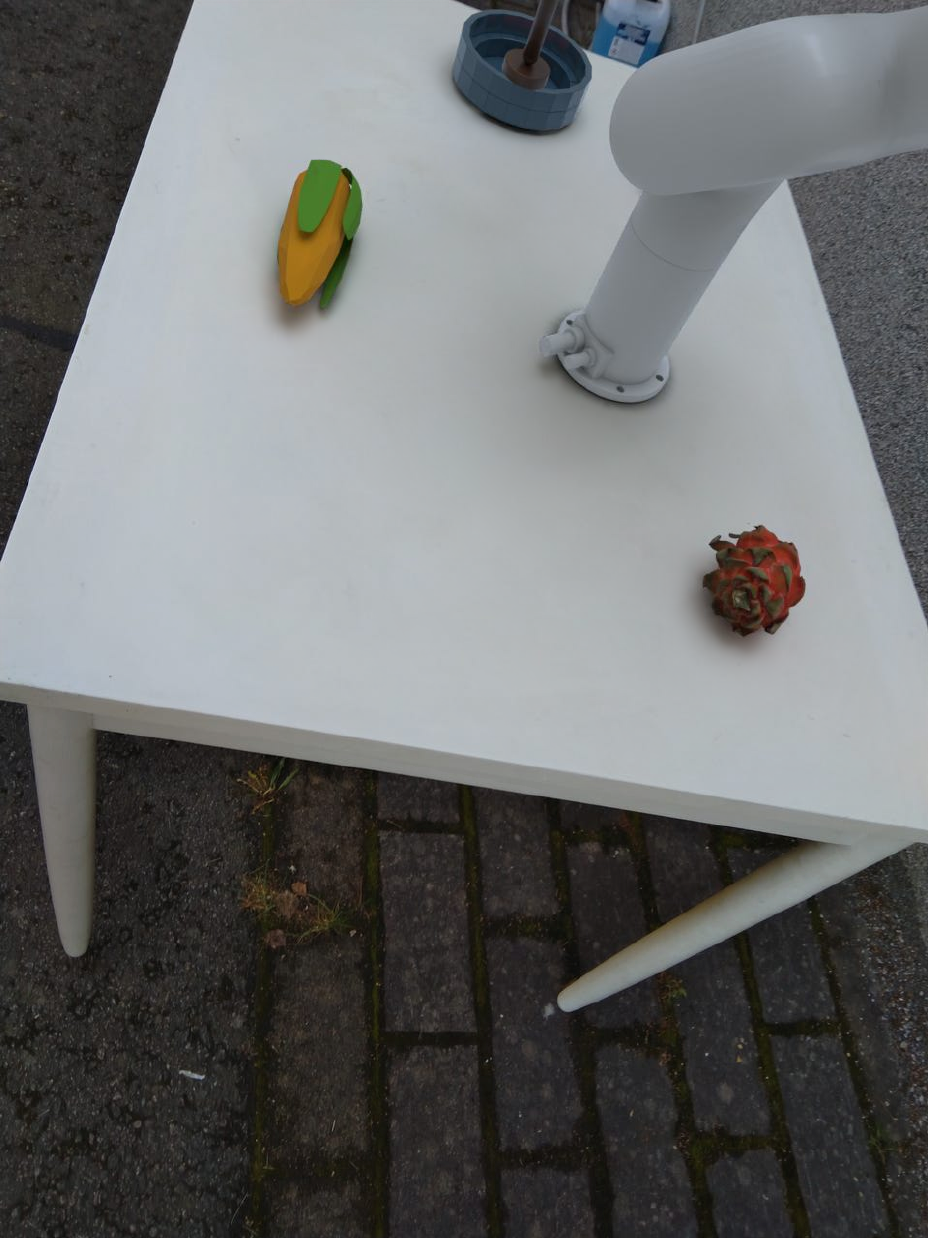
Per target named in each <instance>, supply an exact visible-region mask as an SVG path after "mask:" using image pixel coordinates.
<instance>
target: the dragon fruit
mask: <svg viewBox="0 0 928 1238" xmlns="http://www.w3.org/2000/svg"><path fill="white" fill-rule="evenodd" d="M747 524H748V525H750V523H747ZM752 524H753V523H752ZM753 528H755V529H753V530H750V531H749V530H744V531H742V532H741V533H740V534H739V533H732V532H729V533H728V534H727V536H728V538H730V539H737V540H736V543H735V544H734V543H733V542H730V541H729V540H721V539H722V535H721V534H718V535H716V536H715V537H714V538H712V539H711V541H710V542H709V543H708V546H709V547H710V548H711V549H712V550H713V551H716V553H715V560H716V562H717V565H718V568H717V569H714V570H711V571H710V572H709V573H706V574H704V575H703V577H702V581H701V582H702V584H701V585H702V588H703V589H704V588H706V589H707V590H709V591H710V592H711V593H712V594H713V597H712V600H711V605H710V606H711V610H712V612H713V614H714V615H715V616H718V617H721V618H722V619H726V620H728V621H730V623H731V629H732V632H734V633H736V634H737V635H739V636H741V637H743V638H745V637H748V636H749V635H751V634H754V633H756V632H757V631H758V630H759V629H760V628H761V627H762V628H763V631H764V632H765V633H767V634H769V635H771V636H773V635H775V634H776V633H777V631H778V630H779V629H780V628H781V627H782V625H783V624H784V623H785V622H786V620H787V619H788V617H789V616H790V609H791V608H794V607H795V606H797V605H798V604H799V603H800V602H801V601H802V599H803V598H804V597H805V594H806V593H805V592H806V584H807V583H806V579H805V578H804V576H803V575H801V572H802V566H801V562H800V556H799V552H798V548H797V547H796V545H795V543H794V542H792V541H790V542H788V541H783V540H780V539H779V538H778V536H777V534H776V533H775V532H772V531H771V530H769V529H768V528H766V526H764V525H763V524H757V525H753Z"/></svg>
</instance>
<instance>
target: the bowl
mask: <svg viewBox="0 0 928 1238" xmlns="http://www.w3.org/2000/svg"><path fill="white" fill-rule="evenodd" d="M534 18H535V16H532V15H529V14H525V13H524V12H519V11H514V10H508V9H484V10H481V11H478V12H474V13H472V14H471V15H469V17H467V18H466V20H465V21H463V24H462V28H461V31H460V35H459V39H458V43H457V48H456V51H455V54H454V59H453V64H452V69H451V72H452V75H453V78H454V81H455V84H456V86H457V87H458V89H459V90H460V91H461V92H462V94H463V95H464V96H465V98H466V99H468V100H469V101H470V102H472V104H473V105H474V106H475V107H477V108H478V109H479V110H480V111H482V112H483V113H485V114H486V115H488V116H490V117H491V118H493V119H495V120H496V121H499V122H501V123H504V124H506V125H509V126H511V127H515V128H519V129H523V130H531V131H550V130H560V129H562V128H565V127H566V126H568V125H570V124H572V123H573V122H574V120H575V119H576V117H577V116H578V114H579V112H580V109H581V107H582V105H583V102H584V100H585V96H586V94H587V93H588V92H587V91H588V90H589V87H590V84H591V82H592V79H593V66H592V63H591V62H590V59H589V57H588V55H587V53H586V52H585V51H584V50H583V48H581V46H580V45H579V44H578V42H577V41H575V40H574V39H572V38H571V37H570V36H569V35H567V34H566V33H564V32H563V31H562V30H561V29H559V28H558V27H556V26H553V25H552V24H550V26H549V29H548V32H547V35H546V38H545V40H544V43H543V46H542V49H541V52H540V55H539V56H540V57H541V58H542V59H543V60H545V62H546V63H547V64H548V66H549V68H550V75H549V78H548V80H547V83H546V85H545V87H543V88H542V89H539V90H529V89H525V88H522V87H519V86H517V85H515V84H514V83H512V82H511V81H510V80H508V79H507V78H506V76H505V75H504V73H503V71H502V64H503V61H504V58H505V55H506V53H507V52H508V51H509V50H512V49H525V45H526V42H527V39H528V36H529V33H530V30H531V27H532V24H533V21H534Z"/></svg>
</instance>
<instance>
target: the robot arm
mask: <svg viewBox="0 0 928 1238" xmlns="http://www.w3.org/2000/svg"><path fill="white" fill-rule="evenodd" d="M608 137H609V139H608V140H609V141H608V142H609V147H610V151H611V155H612V157H613V160H614V163H615V165H616V166H617V168H618V170H619V171H620V173H621V174H622V176H623V177H624V178H625V180H627V181H628V182H629V183H630V184H631V185H632V186H634V187H635V188H637V189H638V190H639V191H642V193H641V194H640V196H639V198H638V200H637V202H636V204H635V207H634V208H633V210H632V211H631V213H630V215H629V218H628V219H627V222H626V224H625V226H624V228H623V230H622V232H621V234H620V236H619V238H618V240H617V243H616V244H615V246H614V248H613V251H612V252H611V254H610V257H609V259H608V260H607V263H606V265H605V267H604V269H603V271H602V273H601V275H600V277H599V279H598V281H597V283H596V284H595V287H594V289H593V291H592V293H591V295H590V297H589V299H588V301H587V304H586V305H585V307H584V308H581V309H577V310H575V311H573V312H571V313H569V314H568V315H567V316H566V317H565V318H563V320H562V321H561V323H560V325H559V327H558V329H557V332H556V333H555V334H550V335H546V336H542V337H541V338H540V339H539V343H538V348H539V353H540V354H541V355H542V356H543V357H551V356H556V355H557V358H558V359H559V361H560V363H561V365H562V367H563V368H564V369H565V371H566V372H567V373H568V374H569V375H570V377H571V378H572V379H573V380H574V381H576V382H577V383H578V384H579V385H581V386H582V387H584V388H585V390H588V391H589V392H591V393H593V394H595V395H596V396H599V397H602V398H604V399H607V400H610V401H615V402H620V403H630V404H631V403H640V402H644V401H648V400H650V399H651V398H653V397H655V396H657V395H658V394H659V393H660V392H661V391H662V389H663V388H664V386H665V385H666V383H667V381H668V379H669V376H670V370H671V369H670V368H671V366H670V360H669V357H668V354H667V353H668V351H669V350H670V349H671V347H672V345H673V344H674V342H675V341H676V339H677V337H678V336H679V334H680V333H681V331H682V329H683V328H684V326H685V325H686V323H687V321H688V320H689V318H690V317H691V315H692V313H693V312H694V310H695V309H696V307H697V306H698V304H699V302H700V301H701V299H702V297H703V295H704V294H705V293H706V291H707V290H708V288H709V286H710V284H711V283H712V281H713V280H714V278H715V277H716V275H717V273H718V271H720V269H721V267H722V265H723V264H724V263H725V261H726V259H727V258H728V256H729V254H730V253H731V251H732V250H733V248H734V246H735V245H736V243H738V241H739V240H740V237H741V236H742V234H743V233H744V231H745V230H746V229H747V227H748V225H749V224H750V223H751V221H752V220H753V219H754V218H755V216H756V215H757V213H758V212H759V210H760V209H761V208H762V207H763V206H764V204H765V203H766V202H767V201H768V200H769V198H770V197H772V195H773V194H774V192H775V191H777V189H778V188H779V187H780V186H781V185H782V184H783V183H784V181H785V180H790V179H797V178H802V177H808V176H813V175H819V174H824V173H829V172H836V171H840V170H844V169H849V168H854V167H857V166H860V165H863V164H866V163H870V162H873V161H875V160H876V161H877V160H879V159H882V158H886V157H891V156H894V155H895V156H896V155H899V154H904V153H909V152H915V151H921V150H928V4H926V5H923V6H919V7H915V8H910V9H905V10H900V11H894V12H893V11H892V12H852V13H827V14H812V15H811V14H810V15H798V16H793V17H792V16H791V17H786V18H780V19H775V20H772V21H771V20H770V21H767V22H764V23H758V24H756V25H753V26H749V27H746V28H745V27H744V28H742V29H739V30H736V31H733V32H730V33H725V34H723V35H719V36H717V37H714V38H710V39H707V40H703V41H701V42H697V43H694V44H691V45H687V46H683V47H681V48H678V49H675V50H671V51H668V52H665V53H662V54H660V55H657V56H655V57H653V58H650V59H649V60H648V61H646V62H644V63H643V64H642V65H641V66H639V67H638V68H637V69H636V70H635V71H634V72H633V73H632V74H631V75H630V76H629V78H628V79H627V80H626V82H625V83H624V84H623V85H622V87H621V89H620V91H619V93H618V95H617V97H616V99H615V102H614V105H613V108H612V110H611V114H610V119H609V127H608Z"/></svg>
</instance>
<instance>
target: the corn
mask: <svg viewBox="0 0 928 1238" xmlns="http://www.w3.org/2000/svg"><path fill="white" fill-rule="evenodd" d="M342 167H343V166H342V165H341V164H339V163H337V162H335V161H333V160H331V159H310V162H309V164H308V167H307V169H306V170H303V171H302V172H300V173H298V175H297V177H296V179H295V181H294V184H293V187H292V190H291V194H290V197H289V201H288V205H287V208H286V212H285V215H284V220H283V223H282V226H281V230H280V233H279V238H278V242H277V255H276V259H277V264H278V283H279V285H278V286H279V294H280V296H281V297H282V299H283V300H284V302H285V303H287V304H290V305H292V306H294V307H298V306H300V305H303V304H304V303H306V302H308V301H310V300H311V298H312V297H313V296H314V295H315V294H316V292H317V291H318V289H319V288H320V287H321V286H322V284H324V287H323V290H322V291H323V292H322V294H321V295H322V296H321V299H320V307H321V308H326V307H327V306H328V303H329V302H330V300H331V298H332V297H333V295H334V293H335V292H336V289H337V288H338V286H339V284H340V282H341V281H342V280H343V277H344V273H345V269H346V267H347V265H348V261H349V259H350V255H351V251H352V246H353V241H354V237H355V235H356V233H357V230H358V229H359V227H360V224H361V218H362V213H363V195H362V189H361V186H360V184H359V182H358V180H357V178H356V176H355V175H354V173H353V172H352V171H351V170H350V169H349V168H348V167H344V168H342Z"/></svg>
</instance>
